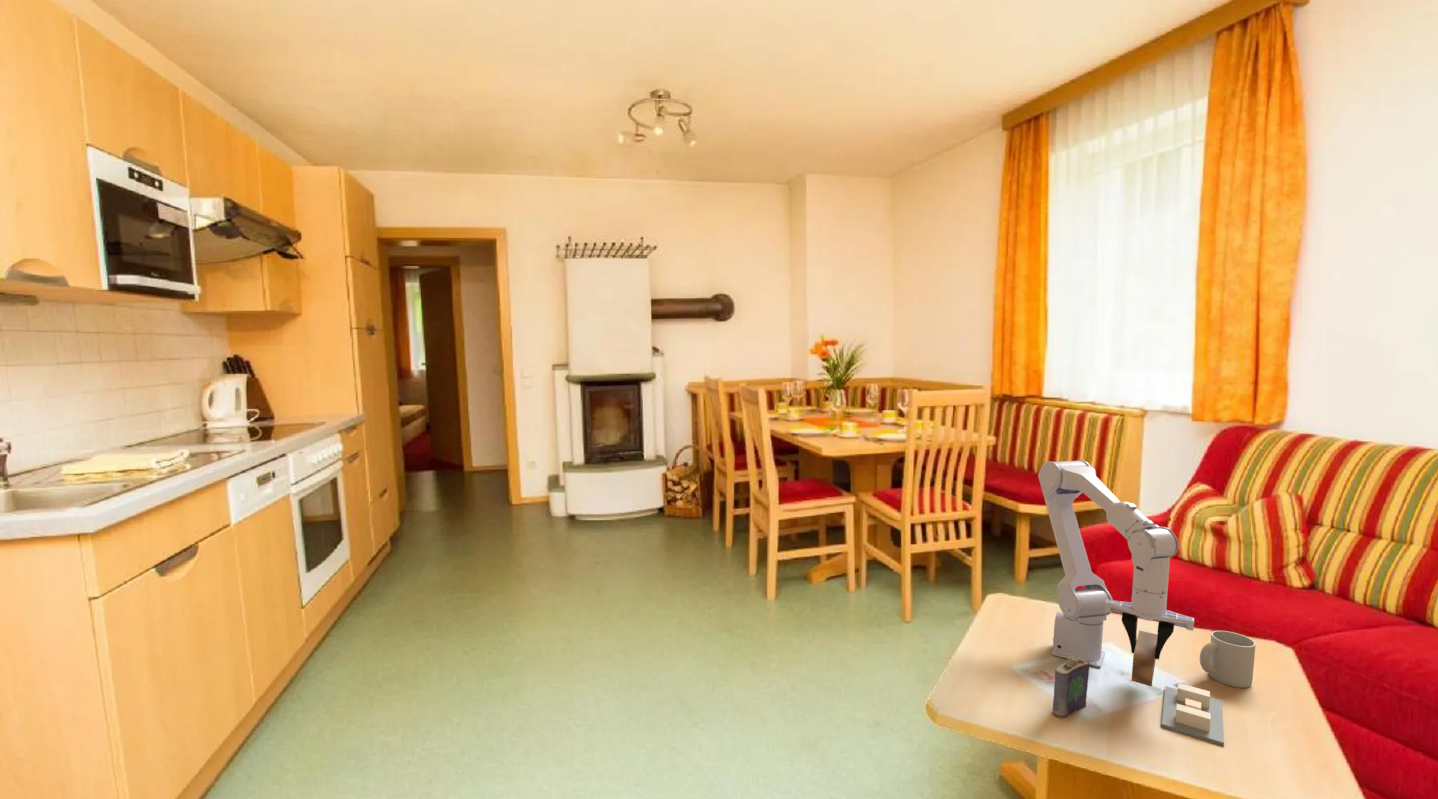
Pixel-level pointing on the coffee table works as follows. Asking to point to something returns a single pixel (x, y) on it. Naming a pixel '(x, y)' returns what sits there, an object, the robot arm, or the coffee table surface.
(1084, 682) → the flask
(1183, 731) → the stand
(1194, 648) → the coffee table surface
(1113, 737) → the coffee table surface
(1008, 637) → the coffee table surface
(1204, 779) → the coffee table surface
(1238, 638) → the cup
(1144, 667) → the case
